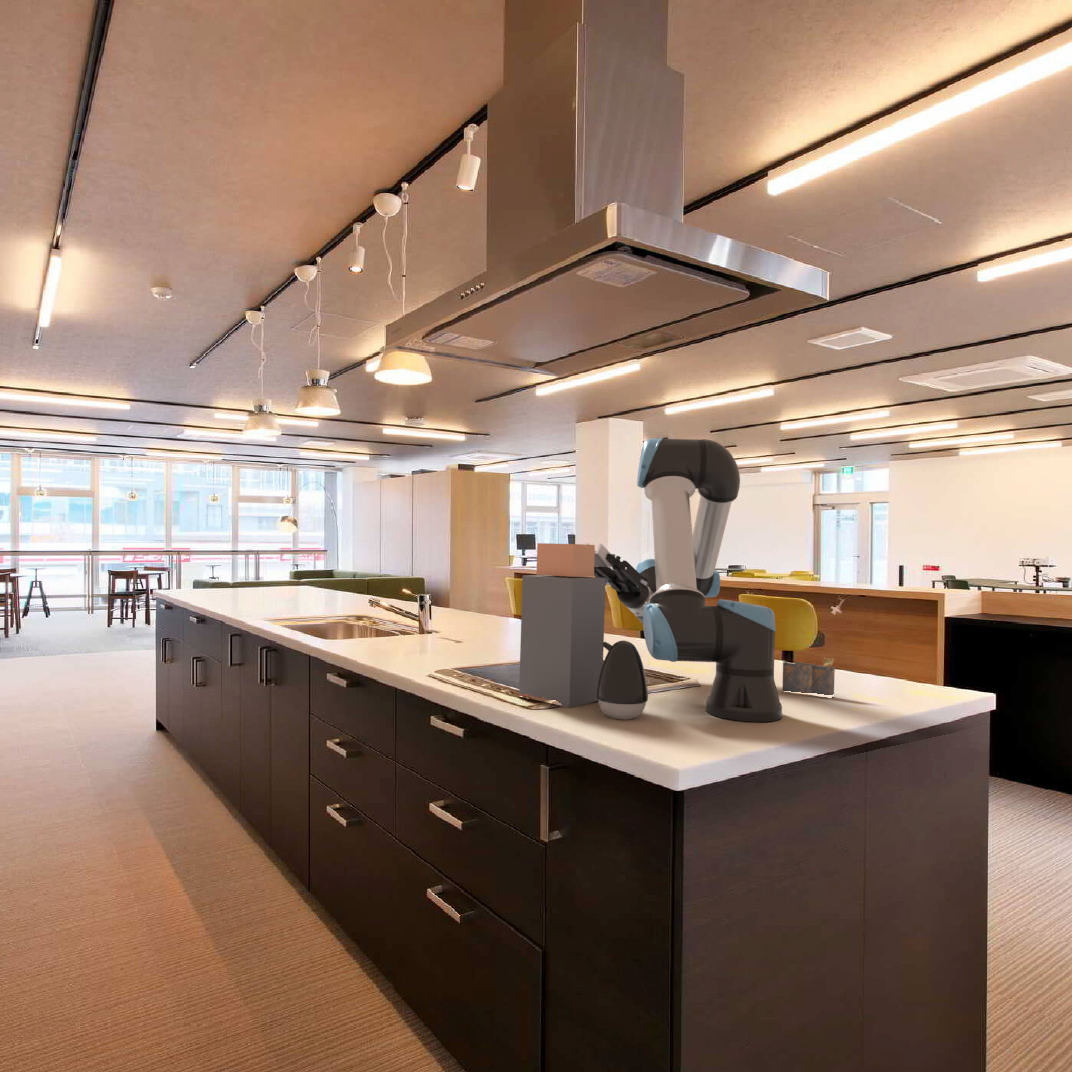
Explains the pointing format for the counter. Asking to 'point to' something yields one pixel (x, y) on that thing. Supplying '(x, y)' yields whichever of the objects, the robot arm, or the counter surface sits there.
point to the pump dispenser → (622, 682)
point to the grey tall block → (562, 638)
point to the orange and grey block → (567, 560)
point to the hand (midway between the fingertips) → (591, 548)
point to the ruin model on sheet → (809, 677)
